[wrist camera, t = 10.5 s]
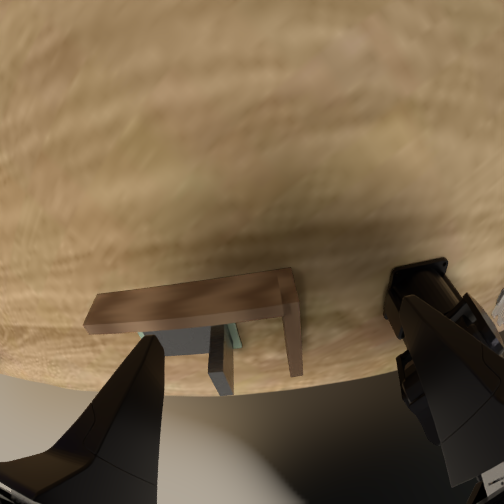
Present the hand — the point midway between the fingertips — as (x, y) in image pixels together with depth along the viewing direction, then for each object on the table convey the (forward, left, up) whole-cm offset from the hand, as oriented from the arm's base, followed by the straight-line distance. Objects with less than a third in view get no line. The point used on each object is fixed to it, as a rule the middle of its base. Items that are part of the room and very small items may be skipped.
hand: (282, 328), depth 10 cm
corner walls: (+7, +12, -12) cm, 18 cm away
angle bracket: (+9, +13, -12) cm, 20 cm away
